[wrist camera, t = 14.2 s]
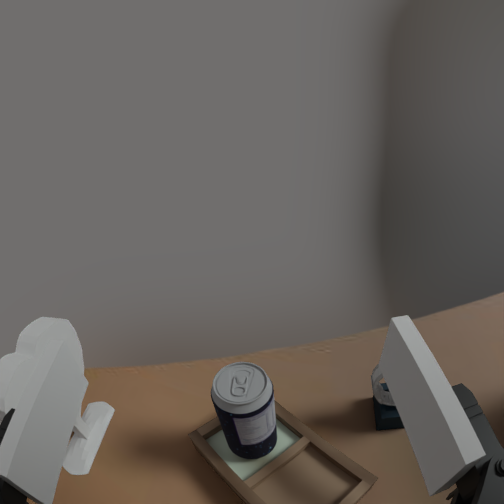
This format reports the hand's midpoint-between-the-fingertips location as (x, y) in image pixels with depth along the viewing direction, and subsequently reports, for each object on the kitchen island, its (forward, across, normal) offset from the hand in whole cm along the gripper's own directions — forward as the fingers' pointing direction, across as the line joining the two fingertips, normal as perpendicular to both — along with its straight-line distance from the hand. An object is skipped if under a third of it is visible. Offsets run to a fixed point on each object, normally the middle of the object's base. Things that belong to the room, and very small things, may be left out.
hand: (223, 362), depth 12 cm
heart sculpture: (+11, -23, -29) cm, 39 cm away
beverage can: (+10, 0, -26) cm, 27 cm away
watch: (+12, +18, -28) cm, 35 cm away
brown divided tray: (+6, +3, -28) cm, 29 cm away
